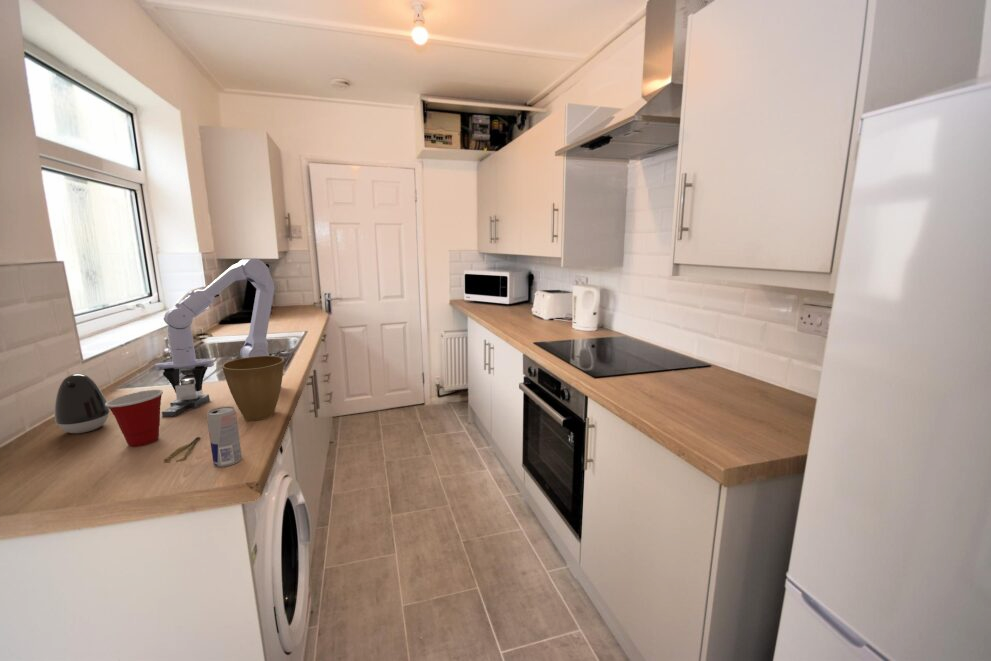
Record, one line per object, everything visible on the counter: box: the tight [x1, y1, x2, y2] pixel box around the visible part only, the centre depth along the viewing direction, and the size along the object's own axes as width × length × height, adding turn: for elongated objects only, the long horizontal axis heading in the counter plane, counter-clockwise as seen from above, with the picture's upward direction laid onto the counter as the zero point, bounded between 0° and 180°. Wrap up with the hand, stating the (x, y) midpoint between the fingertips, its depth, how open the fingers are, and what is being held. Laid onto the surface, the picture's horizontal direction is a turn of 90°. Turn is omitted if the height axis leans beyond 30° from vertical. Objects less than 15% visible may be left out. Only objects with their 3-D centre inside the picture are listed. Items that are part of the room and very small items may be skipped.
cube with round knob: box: [174, 378, 204, 400], centre depth 126 cm, size 5×5×6 cm
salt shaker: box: [179, 368, 195, 380], centre depth 155 cm, size 6×6×12 cm
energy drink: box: [206, 405, 243, 468], centre depth 91 cm, size 5×5×12 cm
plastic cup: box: [105, 389, 164, 448], centre depth 101 cm, size 11×11×12 cm
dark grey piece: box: [161, 394, 211, 418], centre depth 124 cm, size 7×13×5 cm, turn 4°
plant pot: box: [222, 355, 285, 422], centre depth 116 cm, size 15×15×16 cm
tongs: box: [163, 436, 201, 463], centre depth 98 cm, size 4×13×2 cm, turn 17°
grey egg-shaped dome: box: [54, 373, 111, 434], centre depth 108 cm, size 10×10×15 cm
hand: (189, 391), depth 126 cm, fingers closed on cube with round knob, 5 cm apart
